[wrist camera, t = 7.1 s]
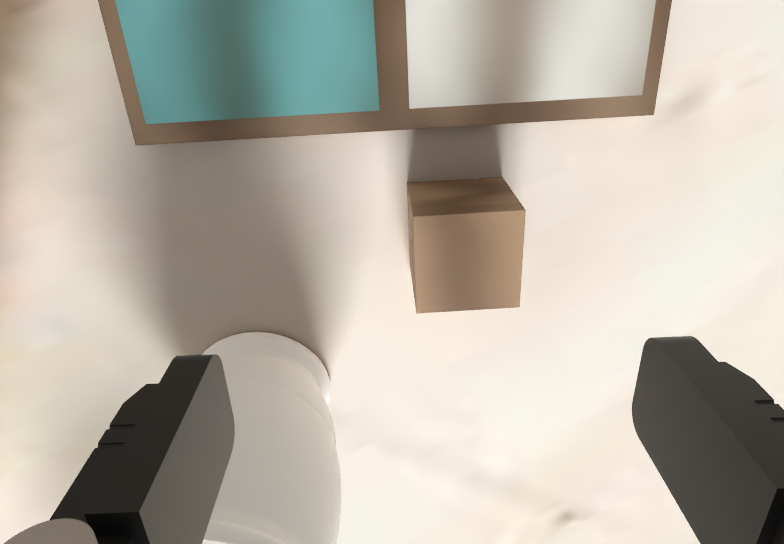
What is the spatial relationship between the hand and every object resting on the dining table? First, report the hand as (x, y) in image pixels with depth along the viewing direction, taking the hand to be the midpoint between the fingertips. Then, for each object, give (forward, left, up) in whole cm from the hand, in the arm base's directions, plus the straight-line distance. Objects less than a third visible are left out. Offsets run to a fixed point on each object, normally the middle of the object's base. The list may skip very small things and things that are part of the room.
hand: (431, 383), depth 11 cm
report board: (0, -7, -19) cm, 21 cm away
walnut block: (-3, +5, -20) cm, 20 cm away
